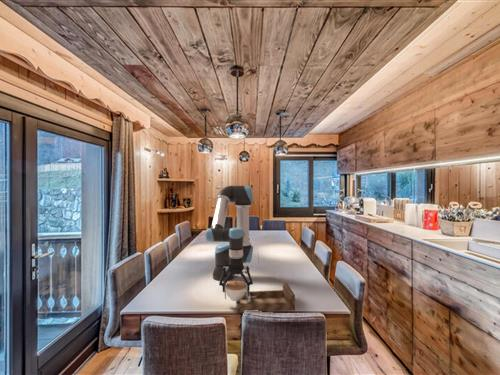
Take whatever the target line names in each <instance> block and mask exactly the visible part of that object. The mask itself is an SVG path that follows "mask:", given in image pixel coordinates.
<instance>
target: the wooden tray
mask: <svg viewBox="0 0 500 375" xmlns="http://www.w3.org/2000/svg"><path fill="white" fill-rule="evenodd" d="M249 292H250V296H256V297H257V299H250V304H247V300H246V291H245V295H244V296H243V298H242V299H241V300H239V301H235V304H236V311H237V312H236V313H237V314H244V313H243V312H244V311H245V310H258V311H268V312H283V311H285V310H288V311H296V294H295V292H294V290H292V288H291V287H290V285H289V284H288V282H282V289H278V290H276V289H275V290H274V289H273V290H252V291H250V290H249Z"/></svg>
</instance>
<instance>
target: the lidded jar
mask: <svg viewBox="0 0 500 375" xmlns="http://www.w3.org/2000/svg"><path fill="white" fill-rule="evenodd" d="M245 292H246V282H245V281H242V280H229V281H228V282H227V283H226V296H227V297H228V298H229V299H230V300H231V301H233V302H236V301H239V300H241V299H242V298H243V296H244V295H245Z"/></svg>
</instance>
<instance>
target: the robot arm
mask: <svg viewBox="0 0 500 375" xmlns="http://www.w3.org/2000/svg"><path fill="white" fill-rule="evenodd" d="M252 189H253V188H252V186H250V185H228V186H225V187H223V188H222V189H221V190H220V191H219V192H218V193H217V195H216V198H215V204H216V205H215V209H214V213H213V218H212V222H211V227H209V228H207V229H206V230H205V239H206V241H207V242H211V243H215V242H216V243H218V242H223V243H220V244H218V245H216V246H215V248H214V249H215V251H214V255H215V256H214V257H215V258H214V262H215V263H214V264H215V265H214V266H215V267H214V269H213V272H212V279H213V280H215V281H218V283H219V284H218V285H219V286H221V287H222V293H224V299H225V300H227V291H226V284H227V283H228V282H229V281H232V280H233V279H234V278H235V275H240V276H241V278H242V279H243V282H245V283H246V291H245V292H246V298H247V291H250V286H251V285H253V279H252V276H251V274H250V268H249V265H246V266H244V264H249V263H251V262H252V260H253V259H252V257H253V252H254V246H253V245H252V242H250V207H252V204H253V202H254V195H253V190H252ZM231 203H234V206H235V207H236V226H235V227H231V228H225V224H226V217H227V212H228V206H229V205H230V204H231ZM243 270H245V271H246V273H247V276H248V279H249V281H248V279H247V277H246V276H245V274H244V272H243Z"/></svg>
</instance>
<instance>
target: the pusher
mask: <svg viewBox="0 0 500 375" xmlns="http://www.w3.org/2000/svg"><path fill="white" fill-rule="evenodd" d="M249 291H250V290H249ZM249 291H247V298H246V300H247V304H250V299H257V297H256V296H250V292H249Z"/></svg>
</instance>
